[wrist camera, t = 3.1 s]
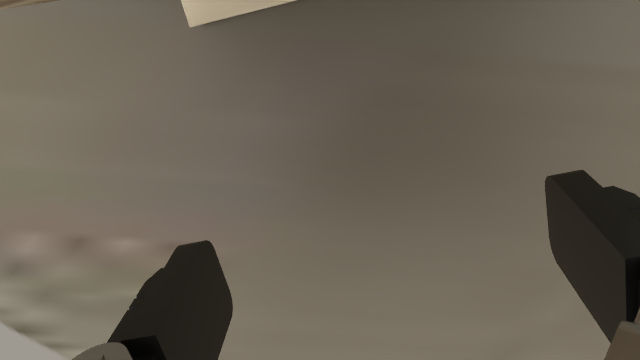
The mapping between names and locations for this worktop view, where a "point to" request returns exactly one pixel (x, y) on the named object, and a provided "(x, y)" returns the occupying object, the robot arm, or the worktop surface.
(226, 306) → the robot arm
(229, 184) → the worktop surface
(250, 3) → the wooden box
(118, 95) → the worktop surface
